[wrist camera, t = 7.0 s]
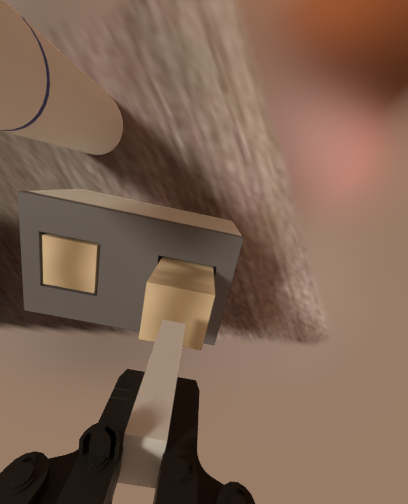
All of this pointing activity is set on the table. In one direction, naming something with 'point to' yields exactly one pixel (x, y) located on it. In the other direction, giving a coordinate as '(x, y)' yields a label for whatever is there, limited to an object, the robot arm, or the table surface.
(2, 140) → the table surface
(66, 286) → the peg
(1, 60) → the cylindrical container
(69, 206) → the plinth
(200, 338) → the peg
